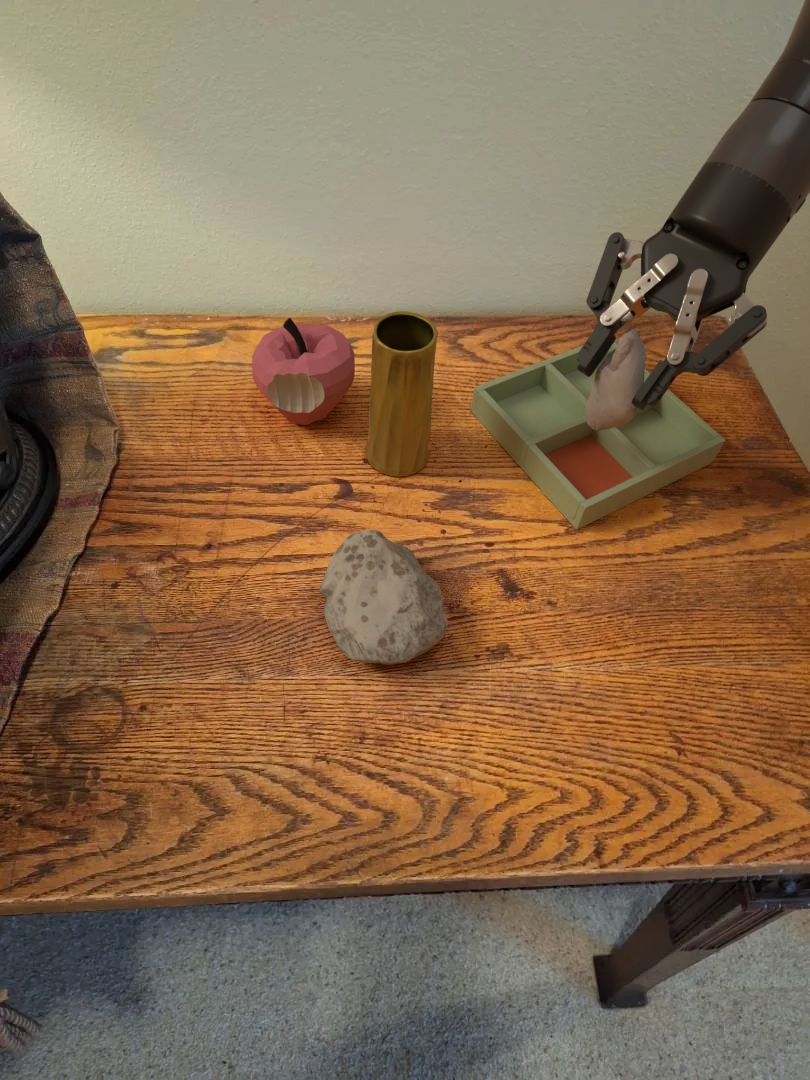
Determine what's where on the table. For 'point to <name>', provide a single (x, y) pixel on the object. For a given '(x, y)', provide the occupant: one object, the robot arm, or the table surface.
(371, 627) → the decorative stone
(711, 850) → the table surface
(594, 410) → the grey brown rock
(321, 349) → the apple
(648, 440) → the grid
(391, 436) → the vase
